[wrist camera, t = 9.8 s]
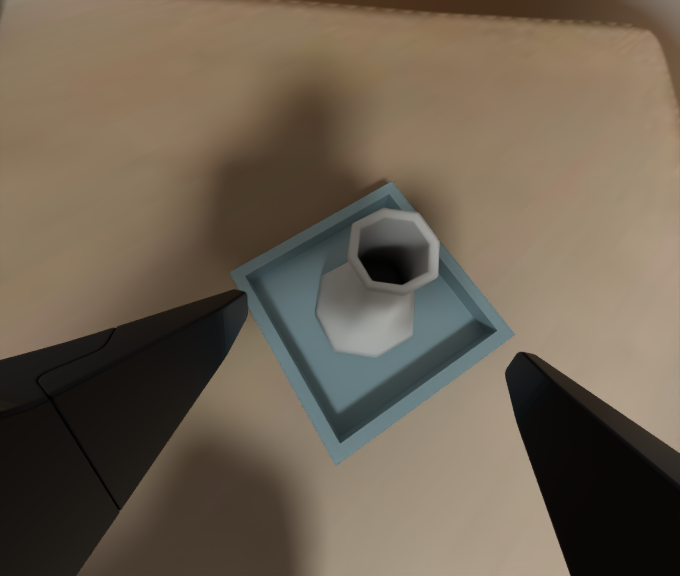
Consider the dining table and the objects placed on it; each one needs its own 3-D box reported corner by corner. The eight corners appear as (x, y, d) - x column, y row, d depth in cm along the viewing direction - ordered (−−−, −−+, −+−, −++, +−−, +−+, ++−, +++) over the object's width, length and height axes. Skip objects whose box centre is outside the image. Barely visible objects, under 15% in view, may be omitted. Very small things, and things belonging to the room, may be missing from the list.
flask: (402, 251, 19) (464, 146, 10) (427, 348, 17) (537, 337, 8) (307, 267, 19) (274, 174, 9) (323, 368, 17) (302, 381, 7)
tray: (498, 336, 18) (515, 334, 16) (336, 454, 16) (335, 466, 14) (387, 195, 21) (391, 181, 19) (239, 280, 19) (229, 272, 17)
